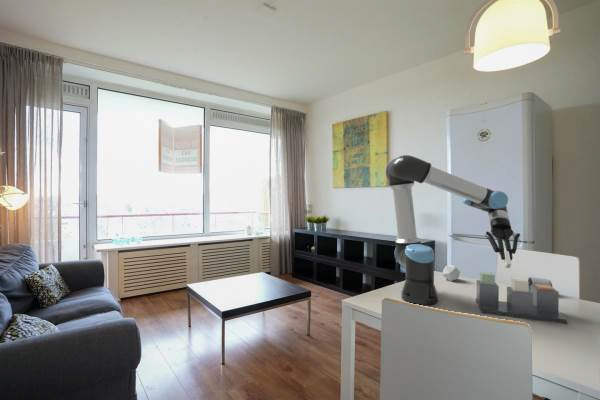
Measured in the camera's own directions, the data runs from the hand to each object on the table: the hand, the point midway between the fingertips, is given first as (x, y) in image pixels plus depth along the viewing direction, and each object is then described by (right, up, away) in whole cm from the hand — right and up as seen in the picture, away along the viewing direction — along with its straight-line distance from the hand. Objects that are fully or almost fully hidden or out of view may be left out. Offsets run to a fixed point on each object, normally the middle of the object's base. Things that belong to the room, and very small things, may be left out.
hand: (508, 266), depth 119 cm
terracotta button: (+10, -15, -5) cm, 19 cm away
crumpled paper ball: (-2, -17, +41) cm, 45 cm away
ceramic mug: (+28, -17, +20) cm, 39 cm away
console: (+1, -17, -4) cm, 18 cm away
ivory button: (-1, -12, -7) cm, 14 cm away
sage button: (-7, -12, +2) cm, 14 cm away
